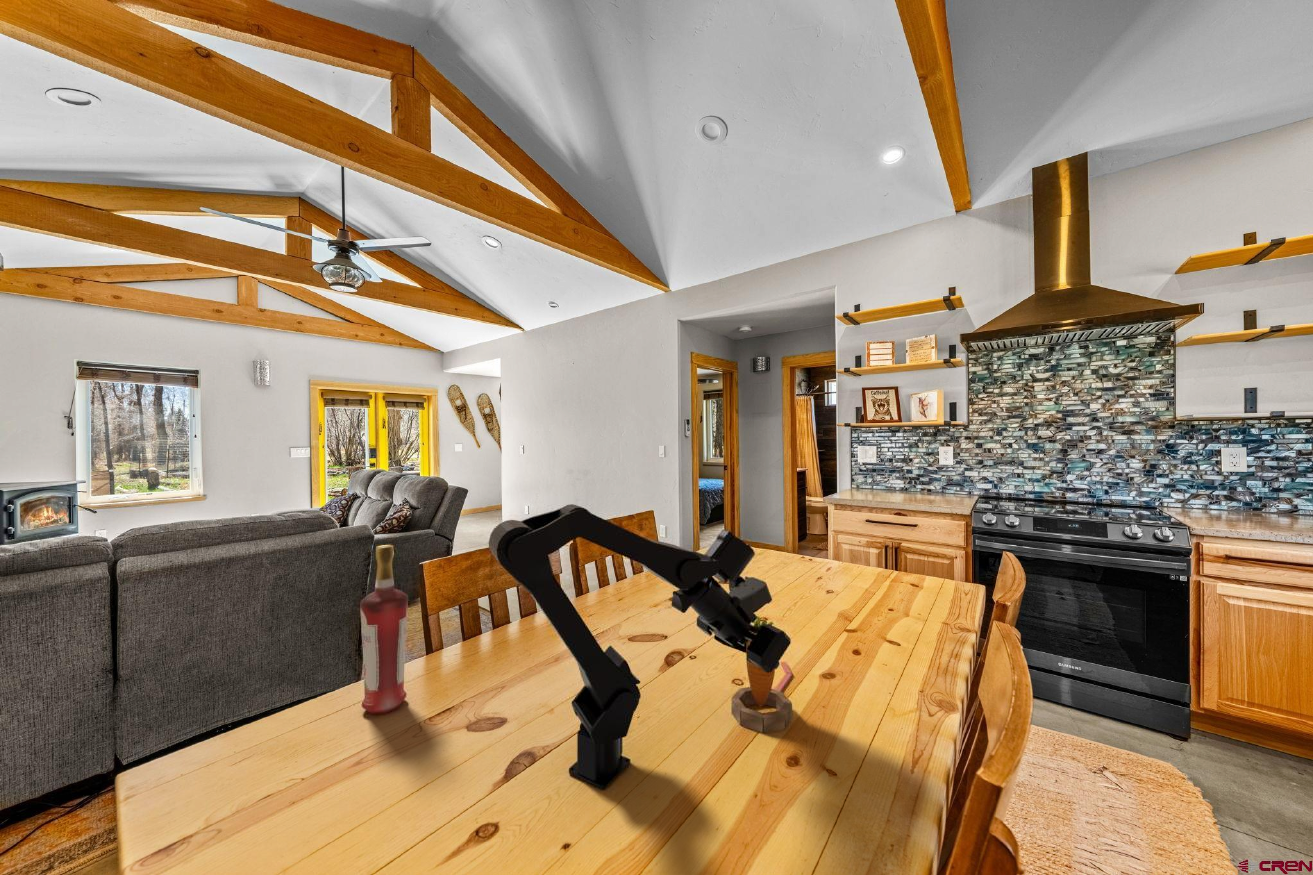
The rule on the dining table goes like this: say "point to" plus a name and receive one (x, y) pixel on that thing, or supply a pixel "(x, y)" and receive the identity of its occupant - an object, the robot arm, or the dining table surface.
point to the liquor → (384, 639)
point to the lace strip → (785, 678)
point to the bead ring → (758, 719)
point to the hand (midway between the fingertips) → (766, 659)
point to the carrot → (759, 675)
